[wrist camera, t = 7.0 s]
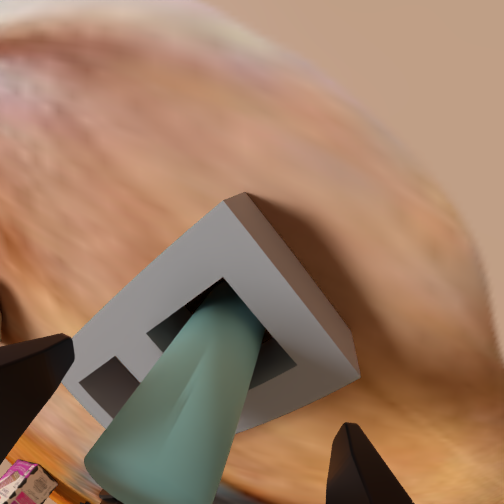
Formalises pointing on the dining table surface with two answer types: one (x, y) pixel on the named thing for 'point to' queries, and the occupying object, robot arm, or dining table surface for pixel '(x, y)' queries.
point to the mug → (0, 325)
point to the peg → (183, 410)
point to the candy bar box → (26, 484)
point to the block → (176, 315)
